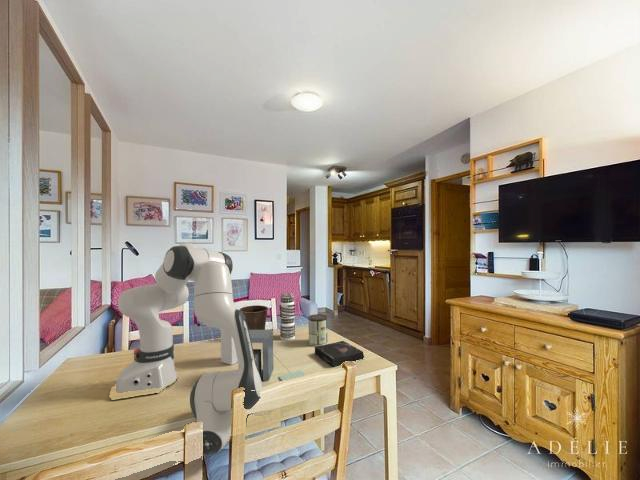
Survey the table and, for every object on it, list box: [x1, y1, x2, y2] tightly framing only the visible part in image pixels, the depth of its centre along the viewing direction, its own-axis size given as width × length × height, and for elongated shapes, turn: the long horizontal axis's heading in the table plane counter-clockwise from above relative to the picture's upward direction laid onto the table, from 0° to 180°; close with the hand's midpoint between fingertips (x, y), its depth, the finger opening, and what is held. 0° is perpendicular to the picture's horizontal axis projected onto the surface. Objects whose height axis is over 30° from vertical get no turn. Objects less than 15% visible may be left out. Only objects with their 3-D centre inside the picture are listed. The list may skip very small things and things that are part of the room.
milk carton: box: [220, 329, 238, 366], centre depth 131 cm, size 7×7×19 cm
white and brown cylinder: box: [278, 292, 296, 341], centre depth 162 cm, size 9×9×25 cm
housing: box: [237, 329, 274, 382], centre depth 118 cm, size 10×12×17 cm
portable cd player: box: [314, 340, 365, 368], centre depth 134 cm, size 16×17×4 cm
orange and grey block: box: [253, 348, 263, 378], centre depth 114 cm, size 14×4×11 cm, turn 179°
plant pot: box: [238, 304, 269, 330], centre depth 165 cm, size 16×16×16 cm
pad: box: [278, 370, 307, 382], centre depth 113 cm, size 10×10×1 cm
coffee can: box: [307, 313, 329, 347], centre depth 153 cm, size 10×10×14 cm
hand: (243, 382), depth 99 cm, fingers open, 8 cm apart
